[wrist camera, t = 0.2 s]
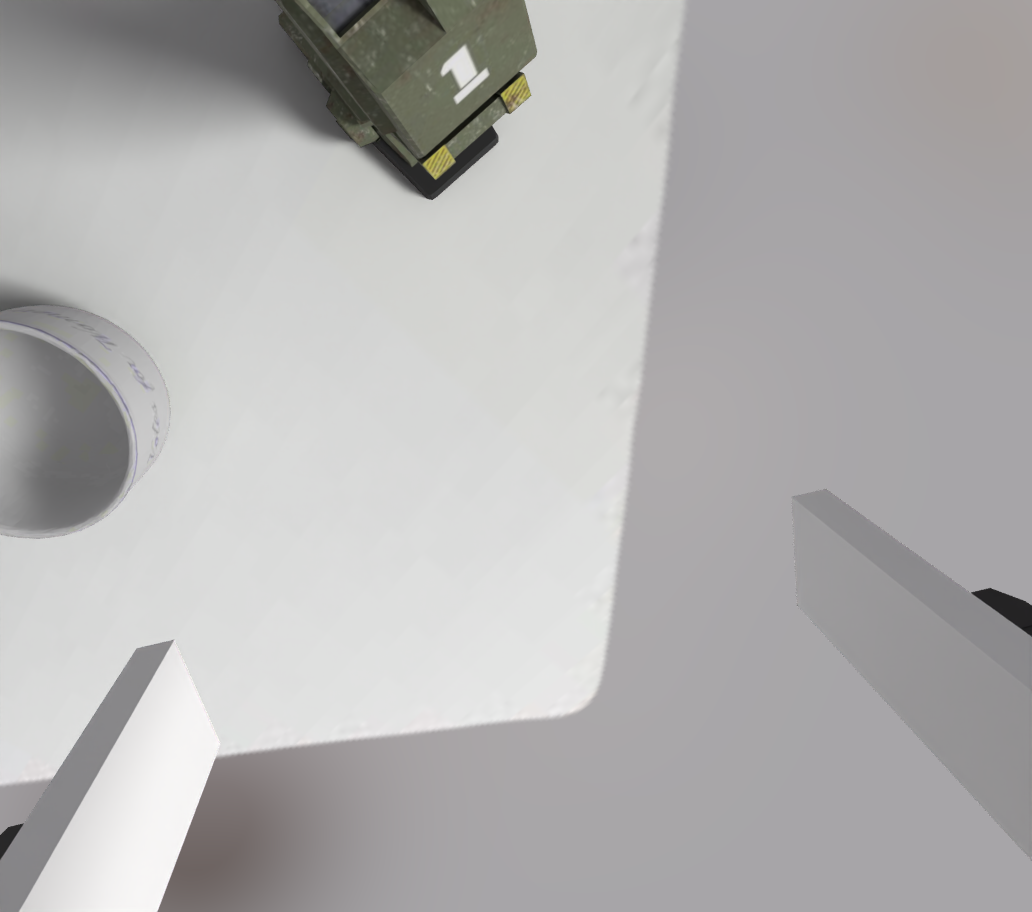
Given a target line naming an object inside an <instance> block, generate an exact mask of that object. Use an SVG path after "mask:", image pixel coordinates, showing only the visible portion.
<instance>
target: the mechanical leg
mask: <svg viewBox="0 0 1032 912" xmlns="http://www.w3.org/2000/svg"><path fill="white" fill-rule="evenodd" d="M275 1H276V2H277V4H278V5H279V6H280V7H281V9H282V10H283V12H282V13H281V14H280V15H279V23H280V25H281V26H282V28H283V29H284V30H285V31H286V33H287V34H288V35H289V36H290V38H291V39H292V40H293V41H294V43H295V44H296V45H297V46H298V48H299V49H300V50H301V51H302V52H303V54H304V55H305V56H306V57H307V59H308V60H309V61H308V67H309V69H310V70H311V71H312V72H313V73H314V75H315V76H316V77H317V78H318V80H319V81H320V82H321V83H322V85H323V86H324V87H325V88H326V89H327V91H328V92H329V93H330V94H331V95H330V97H329V100H328V102H327V104H326V107H327V108H328V109H329V110H330V112H331V113H332V114H333V115H334V117H335V118H336V119H337V121H336V122H337V123H338V124H339V125H340V127H341V128H342V129H343V130H344V131H345V132H346V134H347V135H348V136H349V137H350V138H351V139H352V138H353V139H354V141H355V142H356V143H357V144H358V145H359V146H360V147H362V146H365V145H367V144H369V143H373V144H374V145H375V146H376V147H377V148H378V149H379V150H380V151H381V152H382V153H383V154H384V155H385V156H386V157H387V158H388V159H389V160H390V161H391V162H392V163H393V164H394V165H395V166H396V167H397V168H398V169H399V170H400V171H401V172H402V173H403V174H404V175H405V176H406V177H407V178H408V179H409V181H410V182H411V183H412V184H413V185H414V186H415V187H416V188H417V189H418V190H419V191H420V192H421V193H422V194H423V195H424V196H425V197H426V198H427V199H431V200H433V199H434V198H436V197H437V196H438V195H439V194H441V193H442V192H443V191H444V190H445V189H446V188H447V187H449V186H450V185H451V184H452V183H453V182H454V181H455V180H456V179H458V178H459V177H460V176H461V175H462V174H463V173H464V172H466V171H467V170H468V169H469V168H470V167H471V166H472V165H473V164H475V163H476V162H477V161H478V160H479V159H480V158H481V157H483V156H484V155H485V154H486V153H487V152H488V151H489V150H490V149H492V148H493V147H494V146H495V145H496V144H497V143H498V135H497V133H496V132H495V130H494V128H493V126H492V125H493V124H494V123H495V122H496V121H497V120H498V119H499V118H501V117H502V116H503V115H504V114H505V113H508V114H511V113H512V112H513V111H514V110H515V109H517V108H518V107H519V106H520V105H521V104H522V103H523V102H524V101H526V100H527V99H528V98H529V97H530V96H531V93H530V90H529V87H528V84H527V81H526V78H525V75H524V73H522V72H519V71H520V70H521V69H522V68H523V67H525V66H526V65H527V64H528V63H529V62H530V61H531V60H532V59H534V58H535V57H536V54H537V49H536V45H535V41H534V37H533V33H532V29H531V25H530V21H529V17H528V13H527V9H526V5H525V1H524V0H275Z"/></svg>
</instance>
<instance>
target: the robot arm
mask: <svg viewBox="0 0 1032 912" xmlns="http://www.w3.org/2000/svg"><path fill="white" fill-rule="evenodd" d="M792 515H793V535H794V555H795V575H796V594H797V606H798V607H799V608H800V609H801V610H802V611H803V613H804V614H805V615H806V616H807V617H808V618H809V619H810V620H811V621H812V622H813V623H814V625H815V626H816V627H817V628H818V629H819V630H820V631H821V632H822V633H823V634H824V635H825V637H826V638H827V639H828V640H829V641H830V642H831V643H832V644H833V645H834V646H835V647H836V648H837V650H838V651H839V652H840V653H841V654H842V655H843V656H844V657H845V658H846V659H847V660H848V662H849V663H850V664H851V665H852V666H853V667H854V668H855V669H856V670H857V671H858V672H859V673H860V675H861V676H862V677H863V678H864V679H865V680H866V681H867V682H868V683H869V684H870V686H872V688H873V689H874V690H875V691H876V692H877V693H878V694H879V695H880V696H881V697H882V699H883V700H884V701H885V702H886V703H887V704H888V705H889V706H890V707H891V708H892V709H893V711H895V713H896V714H897V715H898V716H899V717H900V718H901V719H902V720H903V721H904V723H905V724H906V725H907V726H908V727H909V728H910V729H911V730H912V731H913V732H914V733H915V734H916V736H917V737H918V738H919V739H920V740H921V741H922V742H923V743H924V744H925V745H926V746H927V747H928V749H929V750H930V751H931V752H932V753H933V754H934V755H935V756H936V757H937V758H938V760H939V761H940V762H941V763H942V764H943V765H944V766H945V767H946V768H947V769H948V770H949V771H950V773H951V774H952V775H953V776H954V777H955V778H956V779H957V780H958V781H959V782H960V783H961V785H962V786H963V787H964V788H965V789H966V790H967V791H968V792H969V793H970V794H971V795H972V796H973V798H974V799H975V800H976V801H978V803H979V804H980V805H981V806H982V807H983V808H984V809H985V811H986V812H987V813H988V814H989V815H990V816H991V817H992V818H993V819H994V820H995V822H996V823H997V824H998V825H999V826H1000V827H1001V828H1002V829H1003V830H1004V831H1005V832H1006V833H1007V835H1008V836H1009V837H1010V838H1011V839H1012V840H1013V841H1014V842H1015V843H1016V844H1017V845H1018V847H1019V848H1020V849H1021V850H1022V851H1023V852H1024V853H1025V854H1026V855H1027V856H1028V857H1029V858H1030V860H1031V861H1032V605H1030V604H1029V603H1027V602H1026V601H1023V600H1020V599H1018V598H1015V597H1013V596H1010V595H1007V594H1005V593H1002V592H999V591H997V590H994V589H991V588H988V589H984V590H980V591H976V592H972V593H970V592H969V591H967V590H966V589H965V588H963V587H962V586H960V585H959V584H957V583H956V582H955V581H953V580H952V579H951V578H949V577H948V576H946V575H945V574H944V573H942V572H941V571H939V570H938V569H937V568H935V567H934V566H933V565H931V564H930V563H928V562H927V561H926V560H924V559H923V558H921V557H920V556H919V555H917V554H916V553H914V552H913V551H912V550H910V549H909V548H908V547H906V546H904V545H903V544H902V543H900V542H899V541H898V540H896V539H895V538H893V537H892V536H891V535H889V534H888V533H887V532H885V531H884V530H882V529H881V528H880V527H878V526H877V525H875V524H874V523H873V522H871V521H870V520H869V519H867V518H866V517H864V516H863V515H861V514H860V513H859V512H857V511H856V510H855V509H853V508H852V507H850V506H849V505H848V504H846V503H845V502H843V501H842V500H841V499H839V498H838V497H836V496H835V495H834V494H832V493H831V492H830V491H828V490H827V489H823V490H819V491H815V492H811V493H807V494H802V495H798V496H793V497H792ZM220 744H221V743H220V741H219V739H218V737H217V734H216V732H215V730H214V728H213V725H212V723H211V721H210V719H209V716H208V714H207V712H206V710H205V707H204V705H203V703H202V701H201V698H200V696H199V694H198V692H197V689H196V687H195V685H194V683H193V680H192V678H191V676H190V674H189V671H188V669H187V667H186V665H185V662H184V660H183V658H182V656H181V653H180V651H179V649H178V647H177V644H176V642H175V640H171V641H167V642H163V643H158V644H154V645H150V646H145V647H141V648H137V649H136V650H135V652H134V654H133V655H132V657H131V658H130V660H129V661H128V663H127V664H126V666H125V668H124V669H123V671H122V672H121V674H120V675H119V677H118V678H117V680H116V681H115V683H114V685H113V686H112V688H111V689H110V691H109V692H108V694H107V695H106V697H105V699H104V700H103V702H102V703H101V705H100V706H99V708H98V709H97V711H96V713H95V714H94V716H93V717H92V719H91V720H90V722H89V723H88V725H87V726H86V728H85V730H84V731H83V733H82V734H81V736H80V737H79V739H78V740H77V742H76V744H75V745H74V747H73V748H72V750H71V751H70V753H69V754H68V756H67V758H66V759H65V761H64V762H63V764H62V765H61V767H60V768H59V770H58V771H57V773H56V775H55V776H54V778H53V779H52V781H51V782H50V784H49V785H48V787H47V789H46V790H45V792H44V793H43V795H42V796H41V798H40V799H39V801H38V803H37V804H36V806H35V807H34V809H33V811H32V812H31V813H30V815H29V817H28V818H27V820H26V821H25V823H23V824H20V825H15V826H11V827H8V828H7V829H6V830H5V831H4V832H3V833H2V834H1V835H0V912H157V911H158V908H159V905H160V903H161V900H162V897H163V895H164V892H165V890H166V887H167V884H168V882H169V879H170V876H171V874H172V871H173V868H174V866H175V863H176V860H177V858H178V855H179V853H180V850H181V847H182V844H183V842H184V839H185V837H186V834H187V831H188V828H189V826H190V823H191V821H192V818H193V815H194V813H195V810H196V807H197V805H198V802H199V799H200V797H201V794H202V791H203V789H204V786H205V784H206V781H207V778H208V776H209V773H210V770H211V768H212V765H213V762H214V760H215V757H216V754H217V752H218V749H219V746H220Z"/></svg>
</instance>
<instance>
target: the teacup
mask: <svg viewBox="0 0 1032 912" xmlns="http://www.w3.org/2000/svg"><path fill="white" fill-rule="evenodd" d="M170 415H171V411H170V399H169V395H168V391H167V387H166V384H165V381H164V379H163V377H162V375H161V373H160V370H159V369H158V367H157V365H156V364H155V362H154V361H153V359H152V358H151V356H150V355H149V354H148V353H147V352H146V350H145V349H144V348H143V347H142V346H141V345H140V344H139V343H138V342H137V341H136V340H135V339H134V338H133V337H131V336H130V335H129V334H128V333H127V332H126V331H124V330H123V329H121V328H119V327H118V326H116V325H115V324H113V323H112V322H110V321H108V320H106V319H104V318H102V317H100V316H97V315H95V314H92V313H89V312H86V311H83V310H79V309H75V308H71V307H63V306H53V305H36V306H25V307H19V308H13V309H8V310H4V311H1V312H0V534H1V535H5V536H11V537H18V538H34V539H40V538H50V537H58V536H63V535H67V534H70V533H73V532H77V531H80V530H83V529H85V528H87V527H89V526H91V525H94V524H95V523H97V522H99V521H100V520H102V519H103V518H105V517H106V516H108V515H109V514H110V513H111V512H112V511H113V510H114V509H115V508H116V507H117V506H118V505H119V504H120V503H121V502H122V501H123V499H124V498H125V496H126V495H127V493H128V491H129V490H130V489H131V488H132V487H133V486H134V485H135V484H136V483H137V482H138V481H139V480H140V478H141V477H142V476H143V475H144V474H145V473H146V472H147V470H148V469H149V468H150V467H151V466H152V464H153V463H154V461H155V460H156V458H157V457H158V455H159V453H160V452H161V450H162V447H163V445H164V443H165V441H166V438H167V434H168V431H169V426H170Z"/></svg>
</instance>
